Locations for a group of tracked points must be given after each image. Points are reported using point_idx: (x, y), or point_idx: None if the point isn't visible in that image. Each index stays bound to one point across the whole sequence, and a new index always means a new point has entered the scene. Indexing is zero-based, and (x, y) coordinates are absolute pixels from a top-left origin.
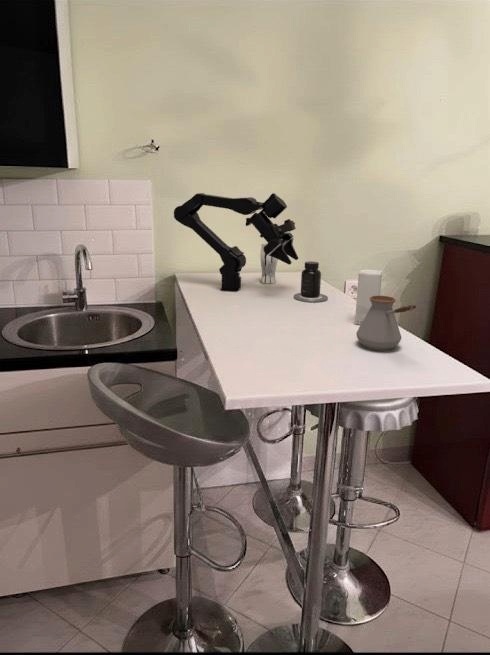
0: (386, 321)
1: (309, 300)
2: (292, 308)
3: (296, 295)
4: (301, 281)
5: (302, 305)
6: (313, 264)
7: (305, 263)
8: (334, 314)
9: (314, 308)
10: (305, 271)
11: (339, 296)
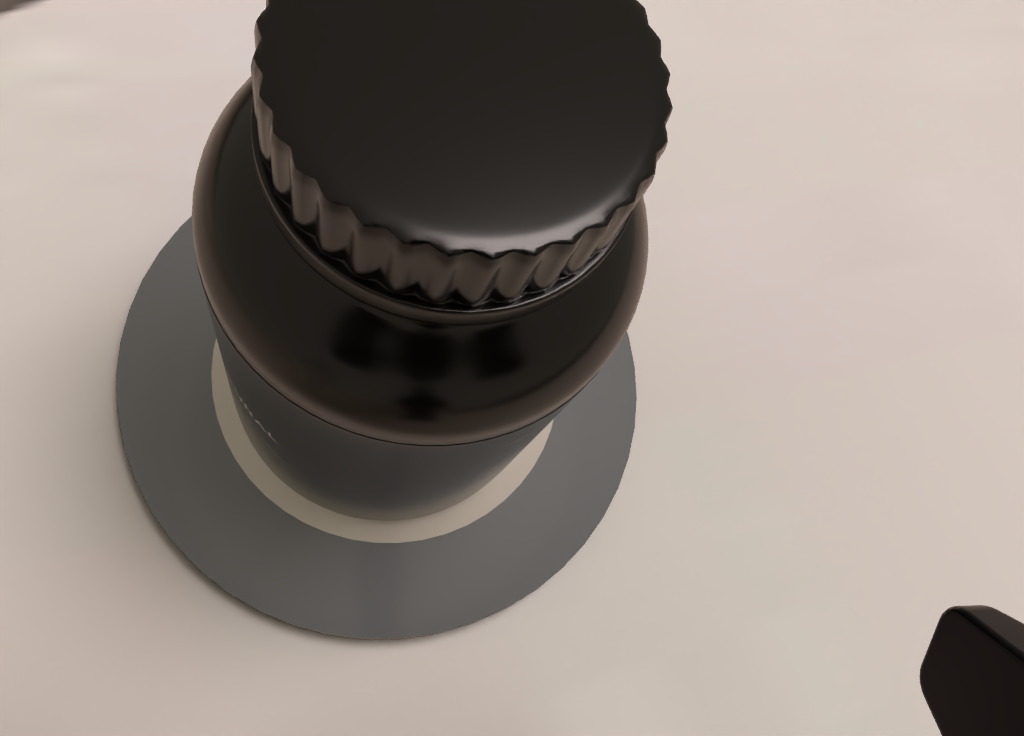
0: None
1: (621, 342)
2: (991, 476)
3: (427, 588)
4: (503, 457)
5: (804, 397)
6: (635, 14)
7: (604, 232)
8: (933, 41)
9: (846, 245)
10: (606, 297)
11: (105, 38)
